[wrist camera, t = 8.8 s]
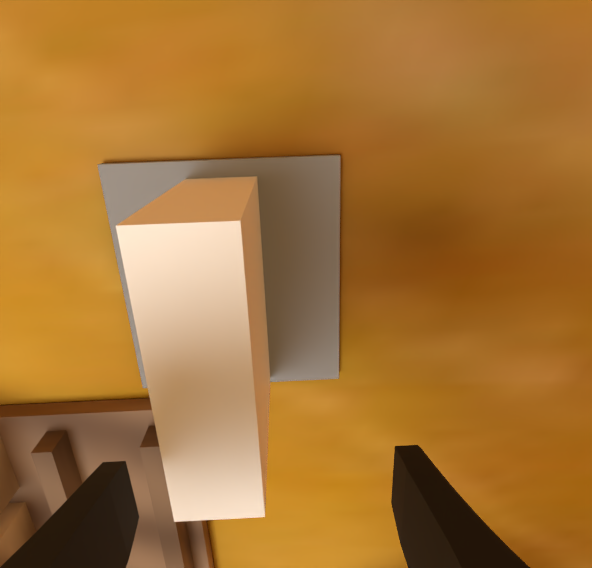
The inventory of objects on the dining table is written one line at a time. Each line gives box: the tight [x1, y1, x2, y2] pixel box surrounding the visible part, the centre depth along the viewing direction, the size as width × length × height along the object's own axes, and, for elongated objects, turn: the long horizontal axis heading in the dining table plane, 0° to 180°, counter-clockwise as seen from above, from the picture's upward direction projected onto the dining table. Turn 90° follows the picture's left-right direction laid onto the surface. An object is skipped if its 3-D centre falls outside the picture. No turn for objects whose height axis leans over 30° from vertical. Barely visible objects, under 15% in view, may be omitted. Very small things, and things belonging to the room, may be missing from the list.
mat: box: [98, 155, 340, 388], centre depth 20 cm, size 11×10×1 cm
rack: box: [0, 398, 214, 568], centre depth 24 cm, size 16×14×2 cm
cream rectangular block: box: [116, 176, 270, 522], centre depth 16 cm, size 10×3×8 cm, turn 2°
